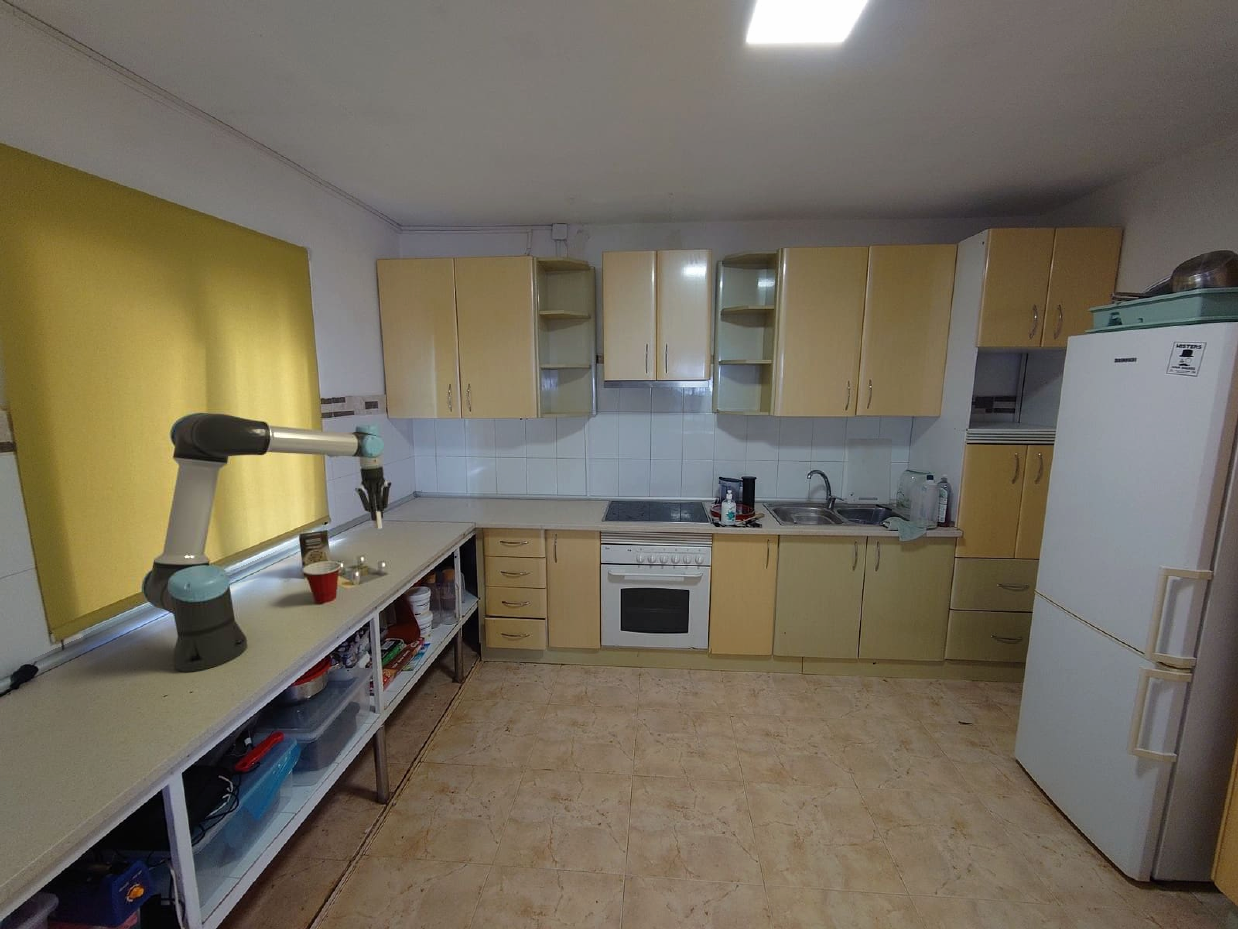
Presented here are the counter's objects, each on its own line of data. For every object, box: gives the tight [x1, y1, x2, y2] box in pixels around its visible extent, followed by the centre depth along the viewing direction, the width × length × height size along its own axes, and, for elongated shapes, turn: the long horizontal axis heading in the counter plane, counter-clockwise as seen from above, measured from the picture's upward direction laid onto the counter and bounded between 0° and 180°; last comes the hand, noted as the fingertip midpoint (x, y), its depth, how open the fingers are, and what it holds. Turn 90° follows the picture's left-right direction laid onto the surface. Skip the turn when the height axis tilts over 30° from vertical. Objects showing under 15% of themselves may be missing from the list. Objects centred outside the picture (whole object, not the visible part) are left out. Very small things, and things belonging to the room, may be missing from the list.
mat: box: [337, 566, 389, 590], centre depth 180 cm, size 15×17×1 cm
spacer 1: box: [337, 560, 346, 576], centre depth 182 cm, size 3×3×5 cm
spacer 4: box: [377, 560, 388, 577], centre depth 181 cm, size 3×3×5 cm
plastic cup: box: [302, 560, 341, 605], centre depth 160 cm, size 11×11×12 cm
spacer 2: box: [351, 570, 362, 586], centre depth 173 cm, size 3×3×5 cm
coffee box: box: [298, 529, 332, 580], centre depth 182 cm, size 9×6×16 cm
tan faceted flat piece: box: [355, 564, 370, 576], centre depth 182 cm, size 5×4×2 cm
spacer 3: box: [356, 554, 367, 567], centre depth 188 cm, size 3×3×5 cm
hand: (378, 527), depth 185 cm, fingers closed
